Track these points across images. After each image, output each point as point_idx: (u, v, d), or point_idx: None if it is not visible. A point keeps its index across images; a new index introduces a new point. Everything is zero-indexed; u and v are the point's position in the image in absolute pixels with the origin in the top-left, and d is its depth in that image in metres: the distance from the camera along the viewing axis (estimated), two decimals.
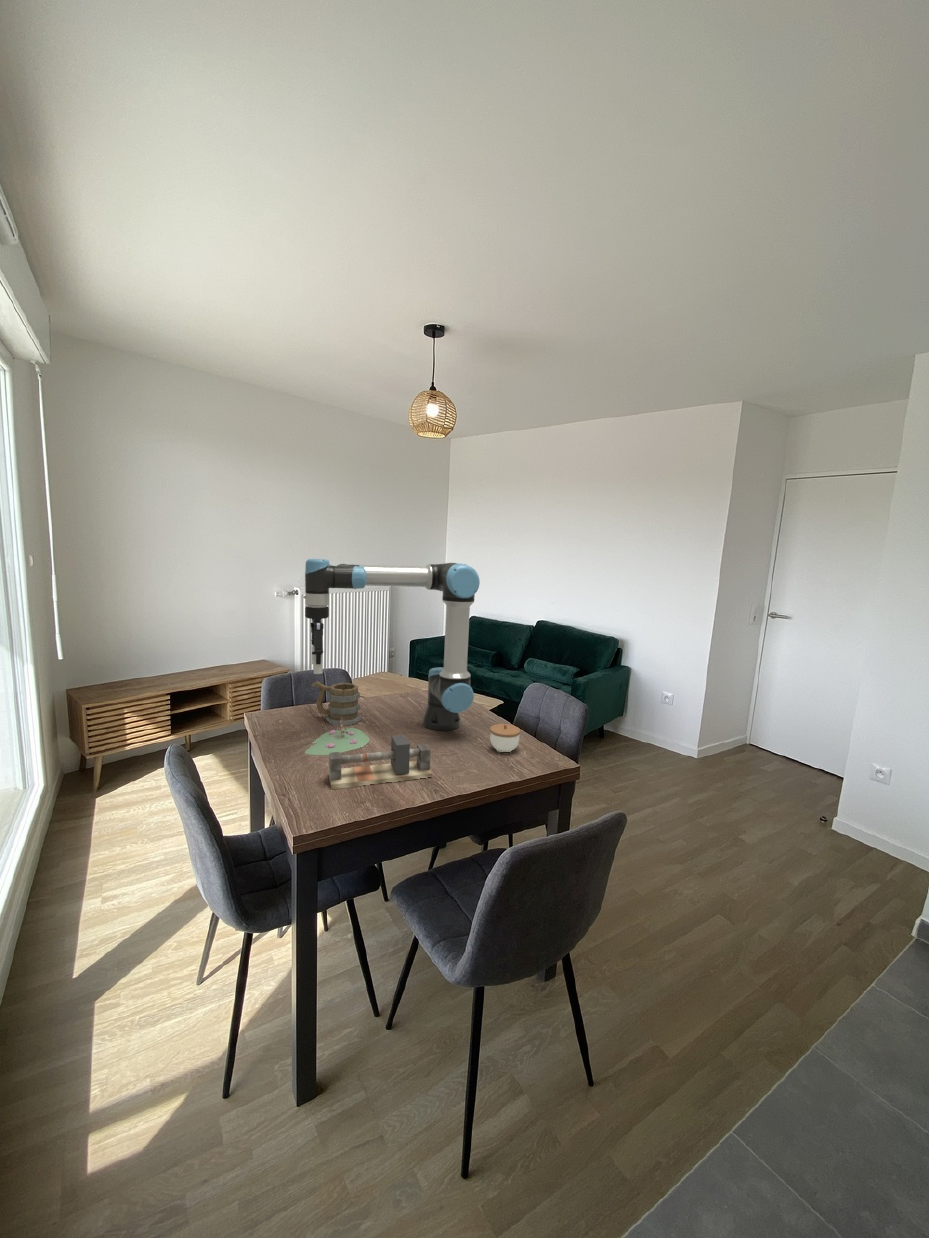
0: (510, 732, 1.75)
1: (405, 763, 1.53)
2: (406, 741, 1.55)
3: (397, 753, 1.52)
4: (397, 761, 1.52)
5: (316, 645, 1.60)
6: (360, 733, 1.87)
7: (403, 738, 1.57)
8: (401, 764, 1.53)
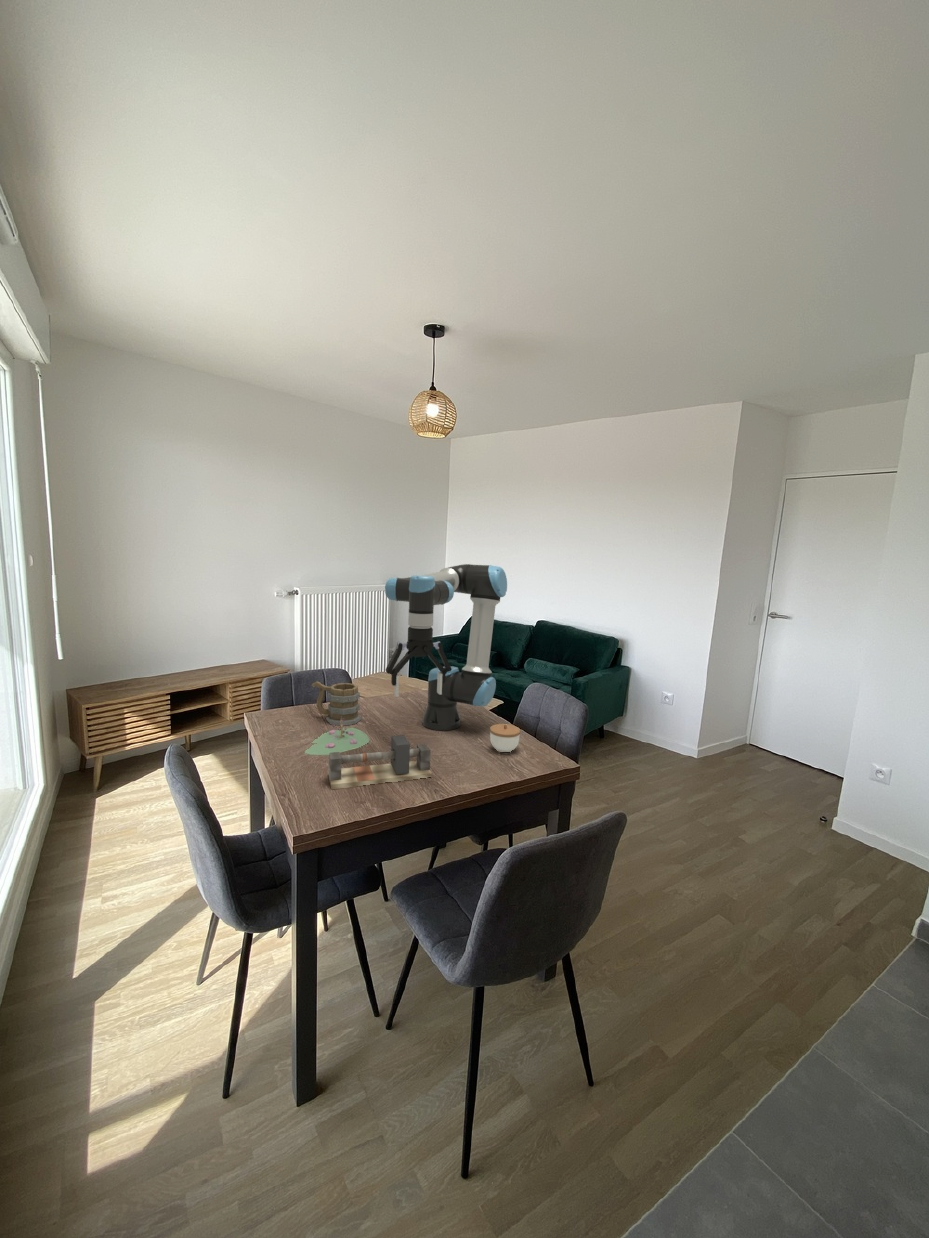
0: (510, 732, 1.75)
1: (405, 763, 1.53)
2: (406, 741, 1.55)
3: (397, 753, 1.52)
4: (397, 761, 1.52)
5: (388, 664, 1.53)
6: (360, 733, 1.87)
7: (403, 738, 1.57)
8: (401, 764, 1.53)
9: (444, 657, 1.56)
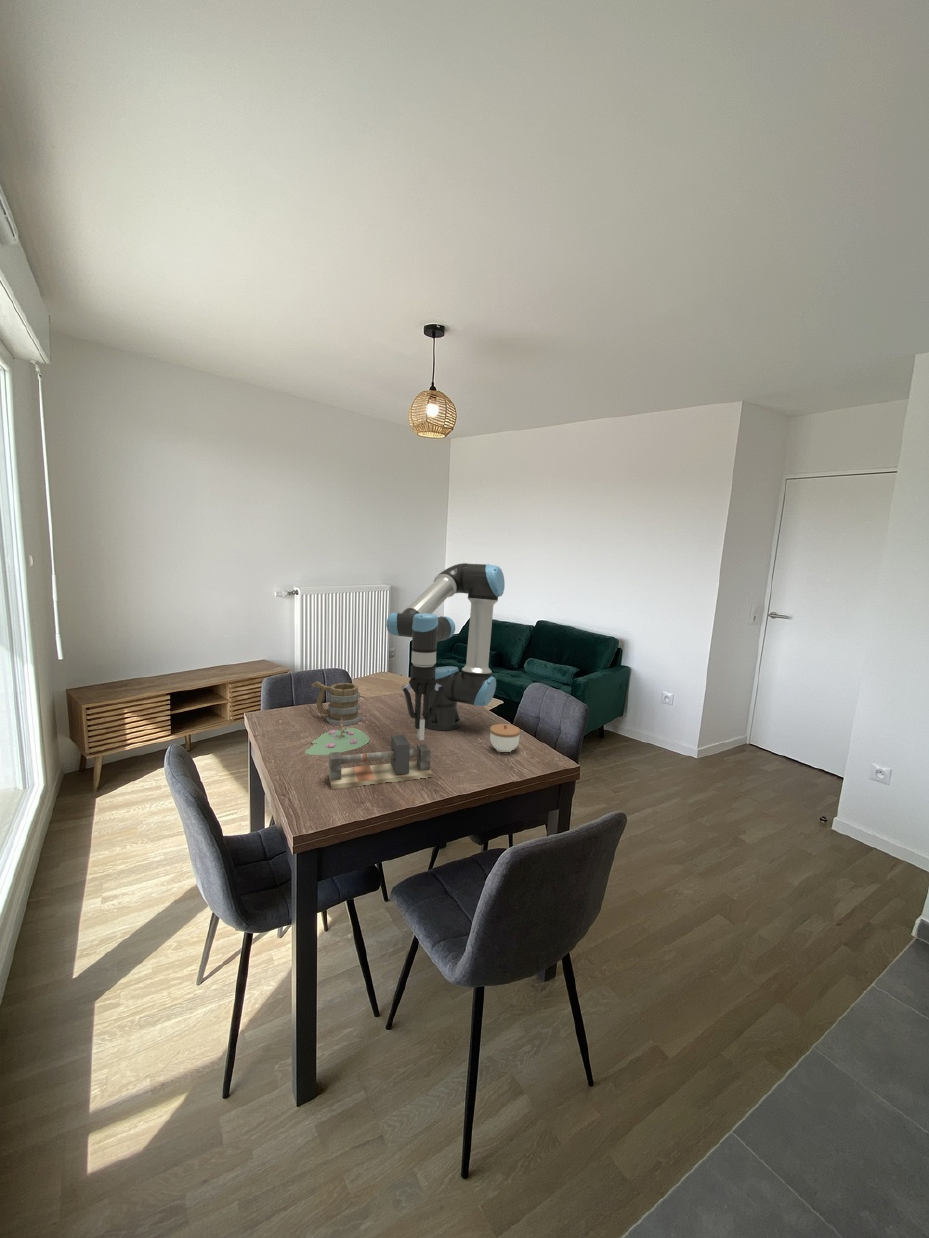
0: (510, 732, 1.75)
1: (405, 763, 1.53)
2: (406, 741, 1.55)
3: (397, 753, 1.52)
4: (397, 761, 1.52)
5: (408, 709, 1.56)
6: (360, 733, 1.87)
7: (403, 738, 1.57)
8: (401, 764, 1.53)
9: (435, 701, 1.56)
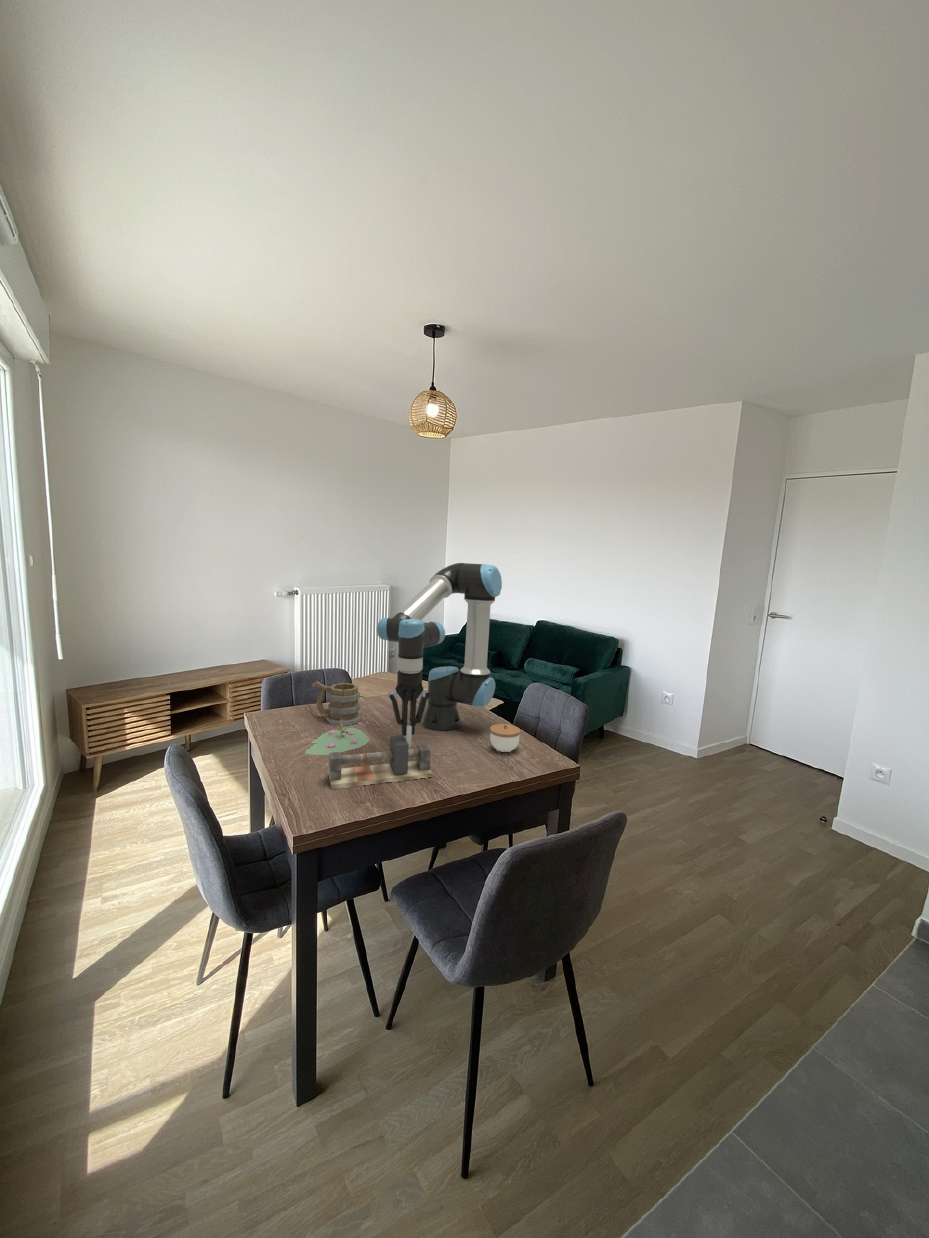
0: (510, 732, 1.75)
1: (403, 763, 1.53)
2: (405, 741, 1.54)
3: (396, 753, 1.52)
4: (396, 761, 1.52)
5: None
6: (360, 733, 1.87)
7: (401, 738, 1.57)
8: (400, 764, 1.52)
9: (422, 707, 1.55)
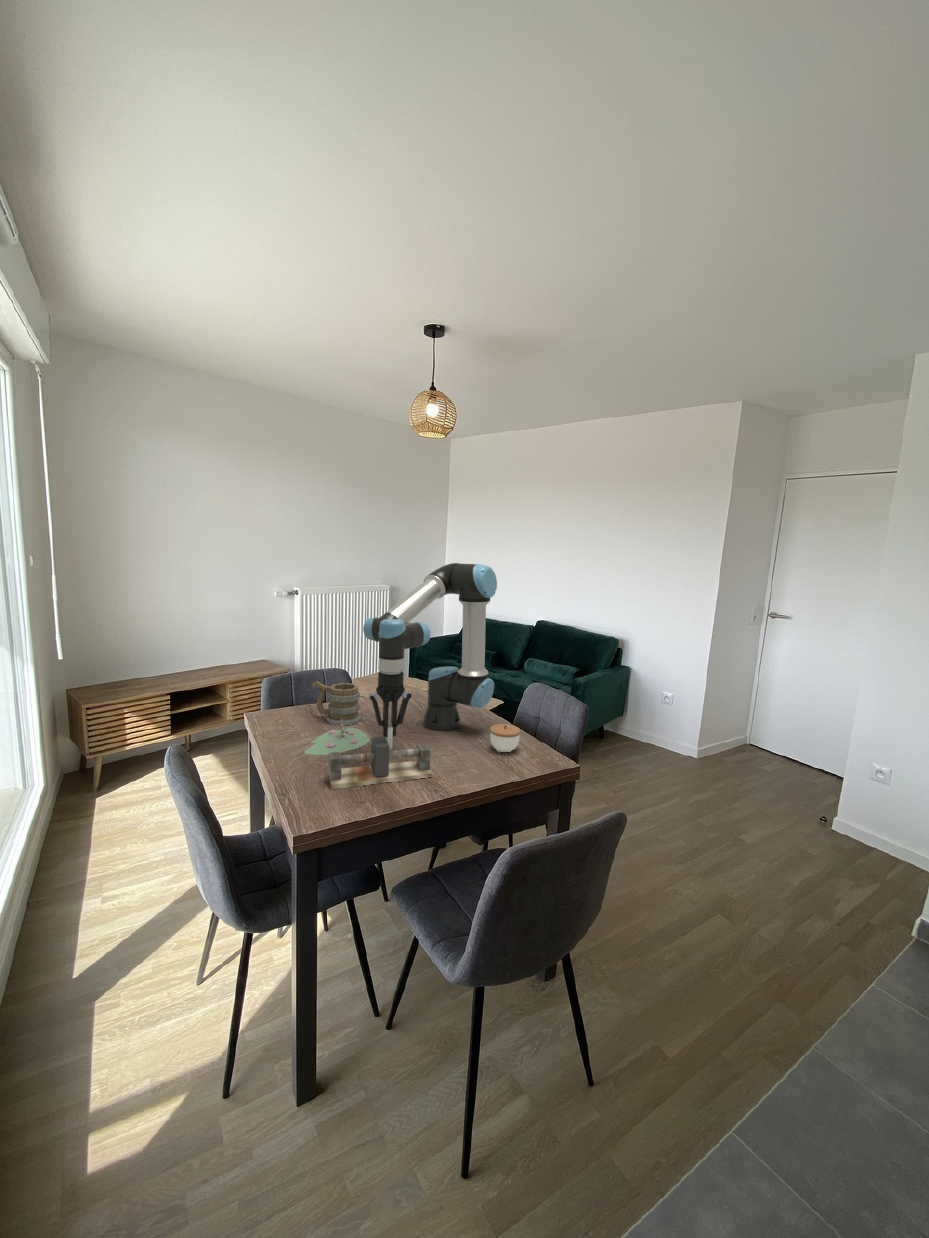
0: (510, 732, 1.75)
1: (384, 765, 1.51)
2: (386, 743, 1.52)
3: (376, 755, 1.50)
4: (376, 763, 1.50)
5: None
6: (360, 733, 1.87)
7: (383, 740, 1.55)
8: (380, 766, 1.50)
9: (403, 709, 1.53)
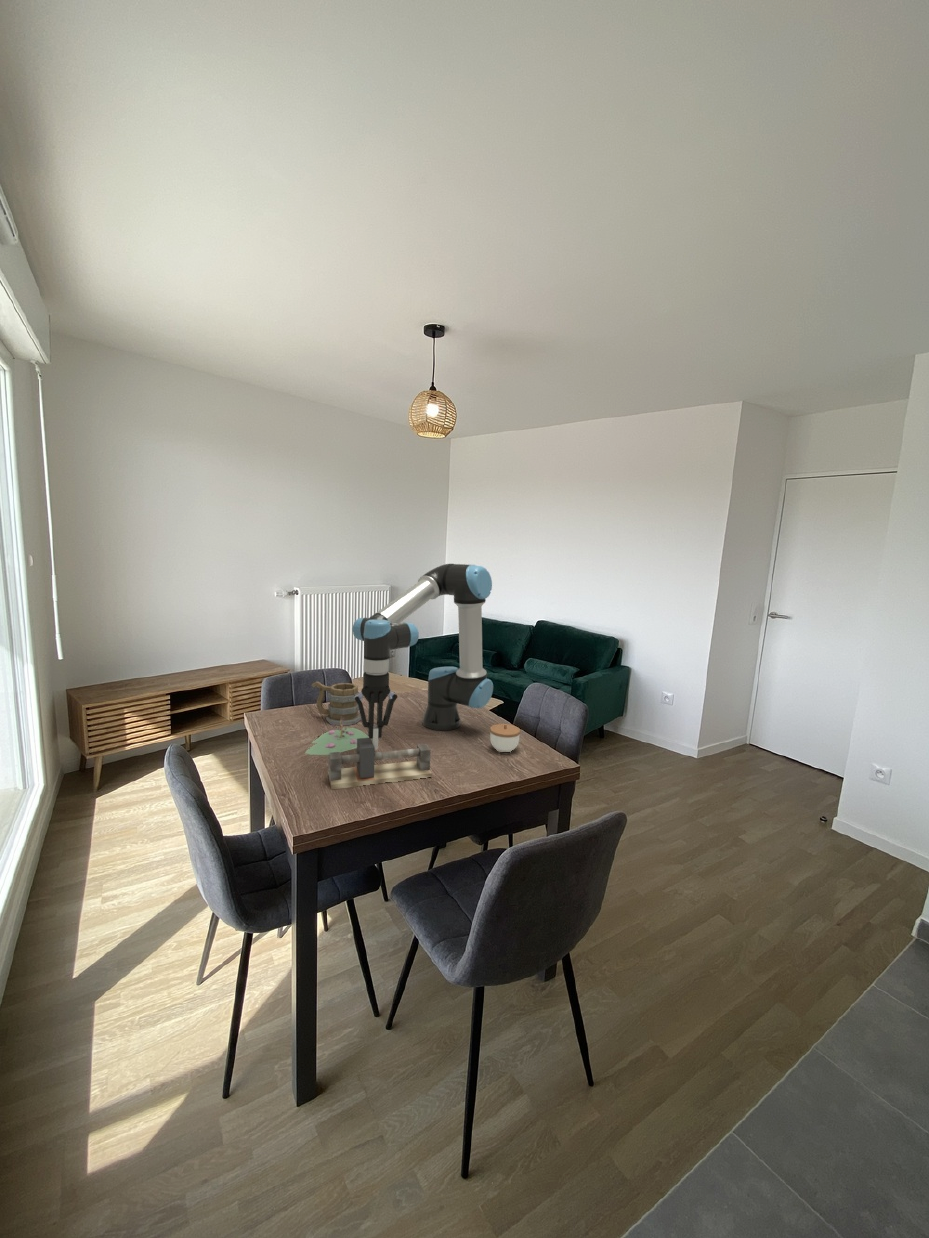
0: (510, 732, 1.75)
1: (369, 766, 1.49)
2: (371, 744, 1.51)
3: (361, 756, 1.48)
4: (361, 765, 1.48)
5: (361, 718, 1.51)
6: (360, 733, 1.87)
7: (368, 741, 1.53)
8: (365, 768, 1.49)
9: (389, 710, 1.52)
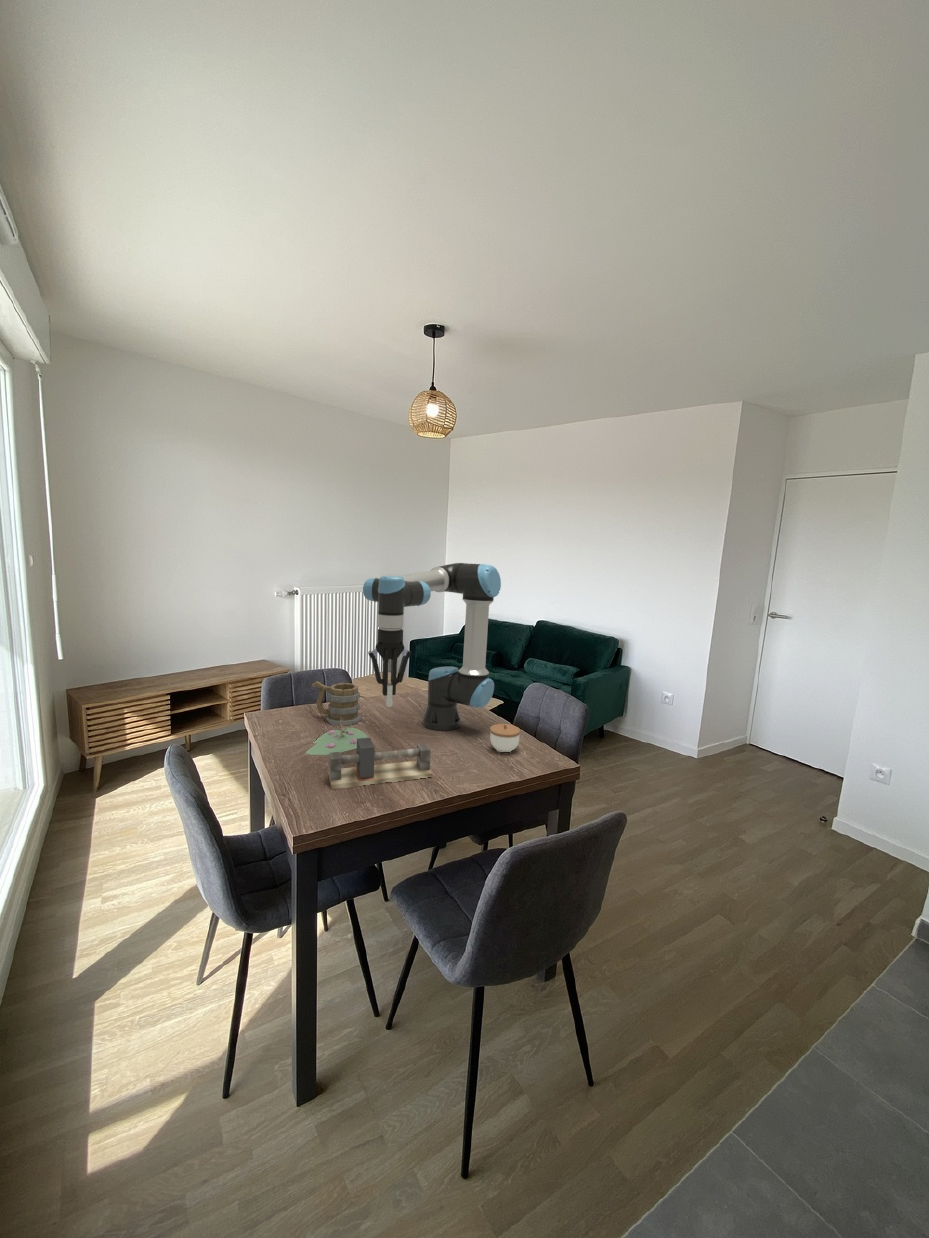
0: (510, 732, 1.75)
1: (369, 766, 1.49)
2: (371, 744, 1.51)
3: (361, 756, 1.48)
4: (361, 765, 1.48)
5: (375, 674, 1.51)
6: (360, 733, 1.87)
7: (368, 741, 1.53)
8: (365, 768, 1.49)
9: (403, 667, 1.51)
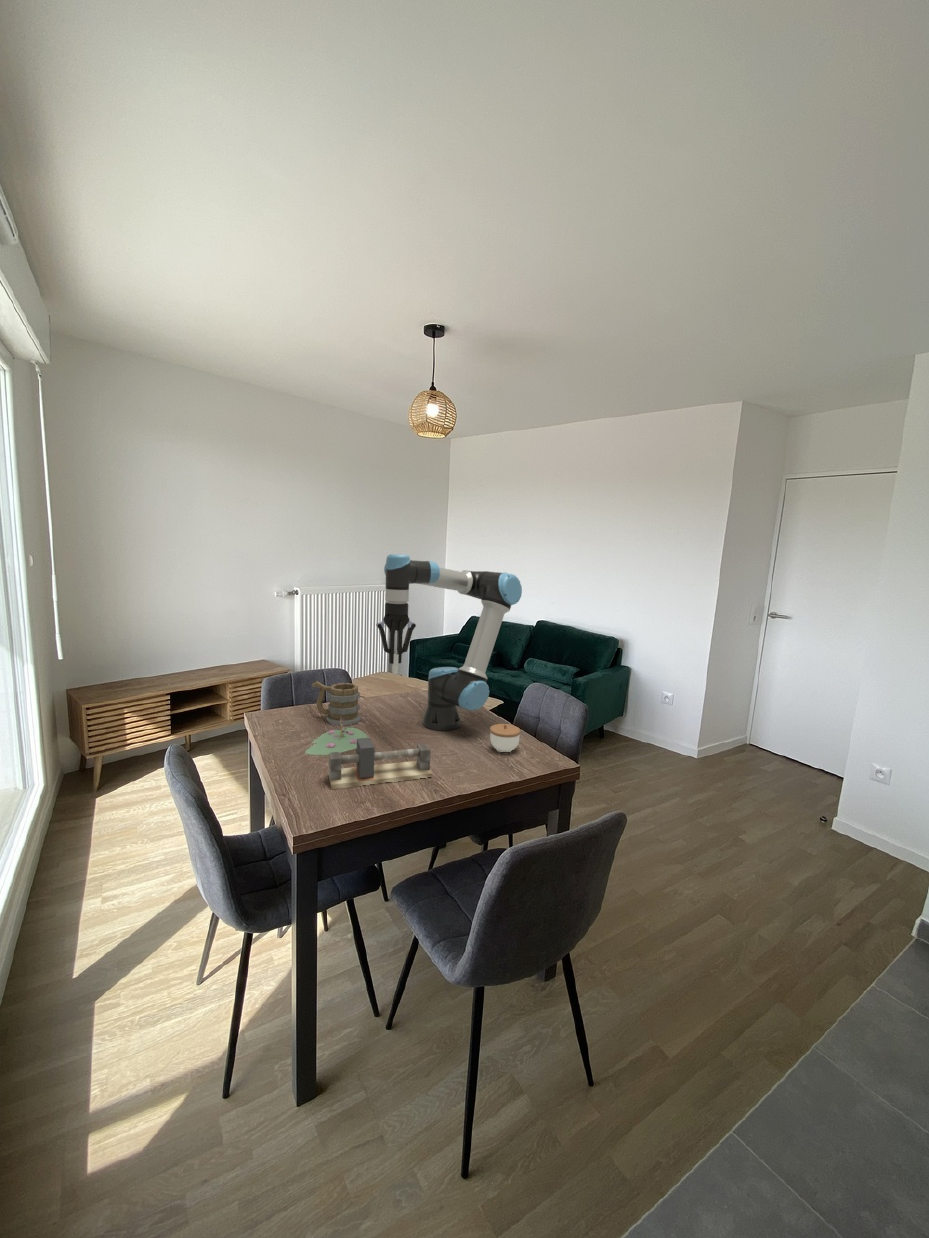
0: (510, 732, 1.75)
1: (369, 766, 1.49)
2: (371, 744, 1.51)
3: (361, 756, 1.48)
4: (361, 765, 1.48)
5: None
6: (360, 733, 1.87)
7: (368, 741, 1.53)
8: (365, 768, 1.49)
9: (408, 637, 1.66)
